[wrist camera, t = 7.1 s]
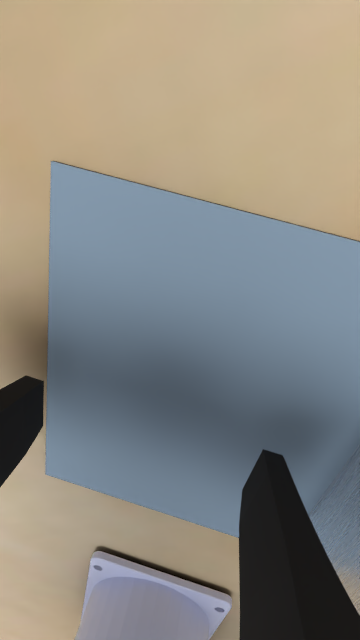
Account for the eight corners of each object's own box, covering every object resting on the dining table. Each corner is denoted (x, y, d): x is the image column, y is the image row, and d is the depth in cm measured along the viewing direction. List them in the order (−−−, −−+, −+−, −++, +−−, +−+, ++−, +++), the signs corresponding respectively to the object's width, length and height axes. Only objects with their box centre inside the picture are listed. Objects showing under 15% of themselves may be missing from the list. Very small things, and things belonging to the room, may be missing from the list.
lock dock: (506, 623, 14) (534, 674, 13) (46, 472, 16) (26, 503, 14) (925, 390, 8) (1079, 443, 6) (52, 160, 9) (16, 162, 8)
